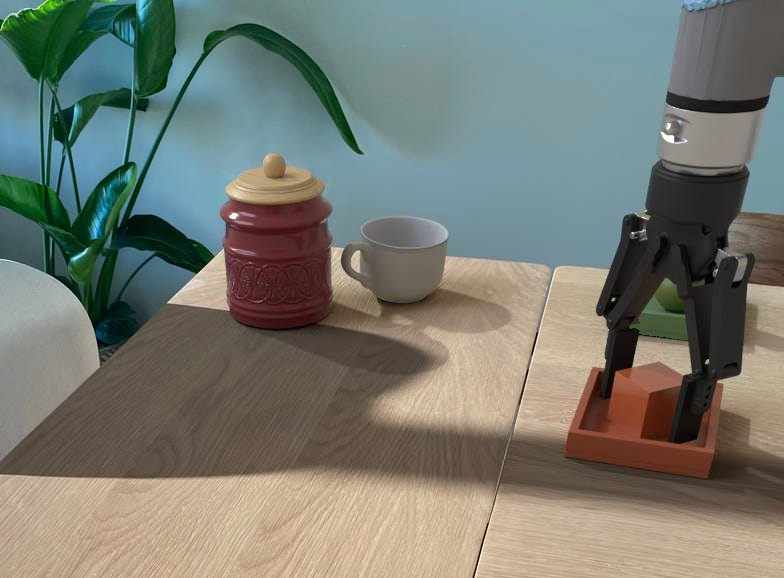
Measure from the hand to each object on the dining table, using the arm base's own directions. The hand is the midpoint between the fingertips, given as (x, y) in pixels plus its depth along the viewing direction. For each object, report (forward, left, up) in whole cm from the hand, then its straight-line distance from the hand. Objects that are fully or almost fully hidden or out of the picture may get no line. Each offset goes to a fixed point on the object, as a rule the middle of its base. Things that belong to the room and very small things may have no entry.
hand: (646, 417), depth 92 cm
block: (0, 0, -1) cm, 1 cm away
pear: (+22, -21, -1) cm, 31 cm away
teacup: (+42, +6, -2) cm, 42 cm away
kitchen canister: (+44, +20, -2) cm, 48 cm away
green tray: (+22, -21, -2) cm, 30 cm away
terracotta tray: (0, 0, -2) cm, 2 cm away
